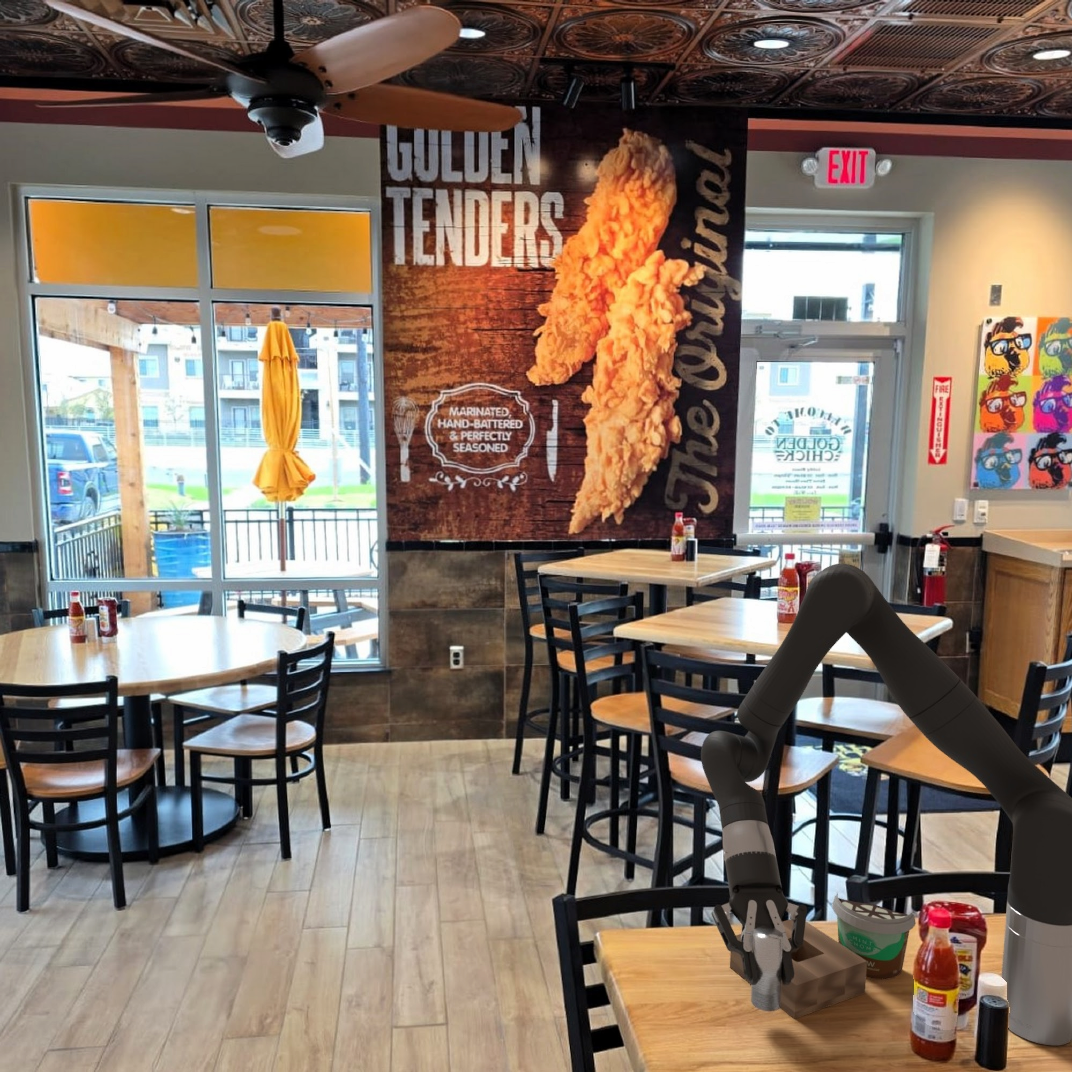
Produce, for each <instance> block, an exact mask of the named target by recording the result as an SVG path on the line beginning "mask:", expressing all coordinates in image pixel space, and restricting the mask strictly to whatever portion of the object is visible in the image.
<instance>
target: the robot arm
mask: <svg viewBox="0 0 1072 1072" xmlns="http://www.w3.org/2000/svg"><path fill="white" fill-rule="evenodd" d="M845 634H847V635H849V637H850V638H852V639H853V641H854V642H855V643H856V644H857V645H859V646H860V648H861V649H862V650H863V651H864V653H866V655H867V656H868V657H869V659H870V661H871V662H872V663H873V665H874V667H875V668H876V670H877V671H878V674H879V675H880V677H881V679H882V681H883V682H884V684H885V686H886V688H887V690H888V691H889V693H890V694H891V696H892V697H893V699H894V701H895V702H896V703H897V705H898V707H899V708H900V709H901V710H902V712H903V713H904V715H906V717H907V718H908V719H909V720H910V721H911V722H912V723H913V724H914V726H915V727H916V728H917V729H918V730H919V731H920V732H921V734H923V736H924V737H925V738H926V739H927V740H928V741H929V742H930V743H931V744H932V745H933V747H935V748H937V749H938V750H939V751H940V752H941V753H942V754H944V755H945V756H947V758H949V759H950V760H952V761H953V762H955V763H957V764H958V765H959V766H960V767H962V768H963V769H964V770H966V771H967V772H969V773H970V774H972V776H973V777H975V778H976V779H977V780H978V781H979V782H980V783H981V784H982V785H983V787H985V788H986V789H987V791H988V792H989V793H990V794H991V796H992V797H993V798H994V800H995V801H996V802H997V803H998V804H999V806H1000V807H1001V809H1002V810H1003V811H1004V813H1005V814H1006V815H1007V817H1008V818H1009V820H1010V821H1011V824H1012V844H1011V856H1010V857H1011V859H1010V868H1009V869H1010V870H1009V879H1008V885H1007V899H1006V910H1005V911H1006V913H1005V926H1004V928H1005V929H1004V936H1003V937H1004V940H1003V952H1002V953H1003V954H1002V964H1001V965H1002V968H1001V977H1002V978H1003V979H1004V980H1005V981H1006V982H1007V1000H1008V1002H1009V1007H1010V1013H1009V1029H1008V1030H1010V1031H1011V1032H1012V1033H1013V1034H1015V1035H1017V1036H1019V1037H1021V1038H1023V1039H1025V1040H1028V1041H1030V1042H1033V1043H1037V1044H1041V1045H1046V1046H1063V1045H1066V1044H1069V1043H1070V1042H1071V1041H1072V797H1071V796H1070V795H1069V794H1068V793H1067V792H1066V791H1065V790H1064V789H1062V788H1061V787H1060V785H1058V784H1057V783H1056V782H1054V781H1053V780H1052V779H1051V778H1050V777H1049V776H1048V775H1047V774H1046V773H1044V772H1043V771H1042V770H1041V769H1040V768H1039V767H1038V766H1037V765H1036V764H1035V763H1034V762H1033V761H1031V760H1030V759H1029V757H1027V756H1026V754H1024V753H1023V752H1022V751H1021V750H1020V748H1019V746H1018V745H1017V744H1015V742H1014V741H1013V739H1012V738H1011V736H1009V734H1008V733H1007V732H1006V730H1005V728H1003V726H1002V725H1001V724H1000V722H999V721H998V720H997V719H996V718H995V717H994V716H993V714H992V713H991V712H990V711H989V710H988V708H987V707H986V706H985V705H984V704H983V702H982V701H981V700H980V699H979V698H978V697H977V696H976V694H975V693H974V692H973V691H972V690H971V689H970V688H969V687H968V685H967V684H966V683H965V682H964V681H963V680H962V679H961V678H960V677H959V676H958V675H957V674H956V672H954V671H953V669H951V668H950V666H948V665H947V664H946V663H945V661H943V659H941V658H940V657H939V656H938V655H937V654H936V653H935V652H934V651H933V650H932V649H931V648H930V647H929V646H928V645H927V644H926V643H925V642H924V641H923V640H922V639H920V638H919V637H918V636H917V635H916V634H915V633H914V632H913V631H912V630H911V629H910V628H909V627H908V626H907V624H906V623H905V622H904V621H903V620H902V618H901V617H900V616H899V615H898V613H896V611H895V610H894V609H893V607H892V606H891V605H890V603H889V602H888V601H887V599H886V598H885V596H884V595H883V594H882V593H881V591H880V590H879V588H878V586H877V585H876V584H875V583H874V581H873V580H872V579H871V578H870V576H869V575H868V574H867V573H866V572H865V571H864V570H863V569H861V568H859V567H858V566H855V565H852V564H848V563H836V564H835V563H834V564H831V565H829V566H827V567H825V568H824V569H822V570H820V571H819V572H817V573H816V574H815V575H814V576H813V577H812V578H811V579H810V581H809V583H808V585H807V588H806V591H805V593H804V596H803V599H802V601H801V603H800V606H799V609H798V611H797V614H796V616H795V617H794V620H793V623H792V624H791V626H790V628H789V630H788V632H787V634H786V636H785V637H784V639H783V641H782V642H781V644H780V646H779V647H778V649H777V651H775V653H774V655H773V656H772V657H771V659H770V660H769V662H768V663H767V664H766V666H765V667H764V669H763V670H762V672H760V675H759V676H757V679H756V680H755V681H754V683H753V684H752V686H751V688H750V690H749V691H748V693H747V694H746V696H745V697H744V698H743V700H742V702H741V703H740V704H739V707H738V708H737V711H736V712H737V713H736V717H737V720H738V722H739V723H740V725H742V726H743V728H745V729H746V730H747V731H748V732H747V733H746V734H745V736H742V735H739V734H736V733H733V732H729V731H724V730H715V731H712V732H710V733H709V734H707V736H706V737H705V738H704V740H703V741H702V745H701V749H700V750H701V751H700V760H701V761H700V762H701V765H702V770H703V771H704V775H705V777H706V780H707V783H708V785H709V787H710V789H711V792H712V794H713V797H714V798H715V801H716V803H717V805H718V811H719V818H720V824H721V831H722V848H723V850H722V851H723V860H724V863H725V870H726V877H727V884H728V885H727V886H728V890H729V898H728V902H726V903H724V904H716V905H715V906H714V907H713V909H712V911H711V917H712V919H713V921H714V923H715V926H716V927H717V930H718V931H719V934H720V936H721V938H722V941H723V942H724V945H725V947H726V949H727V951H728V952H730V953H731V952H732V951H734V952H737V953H739V954H740V955H741V957H742V963H743V970H744V977H745V979H746V980H749V981H750V983H749V985H750V986H752V985H756V984H757V983H758V976H757V969H756V963H755V956H754V953H752V943H753V931H754V929H756V928H758V927H771V928H775V929H777V930H779V931H780V932H781V933H782V935H783V950H782V983H783V985H789V984H790V983H791V980H792V979H793V978H794V968H793V963H792V957H791V953H792V952H794V951H798V950H799V948H800V947H801V946H802V945H803V939H804V931H805V923H806V922H807V913H808V908H807V906H806V904H800V905H796V904H794V903H791V902H788V900H787V898H786V896H785V895H784V893H783V889H782V888H783V887H782V883H781V878H780V877H781V876H780V871H779V865H778V860H777V856H776V850H775V844H774V839H773V836H772V834H771V833H772V832H771V830H770V827H769V821H768V815H767V810H766V803H765V800H764V797H763V795H762V793H761V792H760V791H759V790H758V789H756V788H755V787H752V786H751V785H749V784H748V783H750V782H751V783H752V782H754V781H756V780H758V778H760V777H761V776H762V775H763V774H764V772H766V770H767V768H768V765H769V761H770V759H771V757H772V755H771V754H772V752H773V749H774V746H775V743H776V741H777V737H778V733H779V732H780V730H781V728H782V727H783V725H784V724H785V722H786V721H787V719H788V718H789V716H790V714H791V713H792V712H793V710H794V709H795V707H796V706H797V704H798V702H799V701H800V699H801V697H802V696H803V694H804V692H805V691H806V688H807V687H808V684H809V683H810V680H811V679H812V677H813V675H814V673H815V672H816V670H817V669H818V667H819V665H820V664H821V662H822V661H823V660H824V659H825V657H826V656H827V654H828V653H829V651H830V650H831V649H832V648H833V647H834V646H835V645H836V644H837V642H839V640H841V638H842V637H843V636H844V635H845ZM730 912H731V913H732V915H734V917H735V918H736V919H737V920H738V921H739V923H740V924H741V930H740V934H741V941H739V940H737V938H736V935H737V934H735V931H734V929H733V927H732V925H731V923H730V921H729V920H730V918H731V914H730ZM786 912H787V913H788V914H789V915H788V916H789V920H790V919H791V920H792V921H793V928H792V935H791V941H788V938H787V936H786V933H785V928H784V926H783V924H782V922H783V920H782V919H783V917H784V915H785V913H786ZM745 979H744V980H745ZM746 980H745V981H746ZM1070 1040H1071V1041H1070Z"/></svg>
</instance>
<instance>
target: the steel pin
mask: <svg viewBox="0 0 1072 1072" xmlns="http://www.w3.org/2000/svg"><path fill="white" fill-rule="evenodd" d="M782 950H783V935H782V933H781V932H780V931H779V930H777V929H775V928H771V927H758V928H756V929H754V931H753V953H754V956H755V963H756V969H757V976H758V983H757V984H756V985H751V987H750V988H751V992H750V993H751V995H750V997H751V998H750V1001H751V1004H752V1005H753V1007H754V1008H756V1009H757V1010H761V1011H764V1012H775V1011H777V1010H780V1009H781V1008H780V1006H781V979H782Z"/></svg>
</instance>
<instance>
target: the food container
mask: <svg viewBox="0 0 1072 1072" xmlns="http://www.w3.org/2000/svg"><path fill="white" fill-rule="evenodd" d="M838 896H839V895H838V892H836V895H834V898H833V901H832V909H833V912H834V914H835V915H836V920H837V939H838V941H837V942H838V943H840V944H841V945H843V946H845V947H846V948H848V949H849V950H851V951H852V952H854V953H855V954H857V955H858V956H860V957H861V958H863V959H864V960H866V961H867V970H866V978H868V979H874V980H889V979H893V978H896V977H898V976H899V975H900V974H901V973H902V970H903V967H904V962H905V956H906V951H907V946H908V939H909V935H910V931H911V930H912V929H914V928H915V926H916V918H915V917H916V916H915V914H914V913H913V909H912V910H911V912H909V914H907V913H902V912H897V911H895V910H894V911H893V910H891V909H888V908H886V907H883V906H880V905H879V904H878V905H877V904H874V903H866V902H865V903H864V902H858V901H852V900H848V899H844V898H840V897H838Z"/></svg>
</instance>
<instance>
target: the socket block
mask: <svg viewBox="0 0 1072 1072" xmlns="http://www.w3.org/2000/svg"><path fill="white" fill-rule="evenodd" d="M782 924H783V926H784V928H785V933H786V936H787V938H788V941H791V935H792V928H793V921H792V920H791V919H790V918H789V919H787V920H784V921H783V920H782ZM735 935H736V938H737V940H739V941H741V933H739V934H735ZM752 953H753V943H752ZM729 955H730V957H729V968H730V969H731V970H732V971H734V972H735V973H737V975H739V976H740V977H741V978H743V979H744V980H745V981H746V982H748V983H749V984H750V981H749V980H746V979H745V977H744V970H743V963H742V957H741V955H740V954H739V953H737V952H734V951H732V952H731V951H730V953H729ZM791 957H792V963H793V968H794V978H793V979H792V980H791V983H790V984H789V985H783V983H782V979H781V1006H780V1008H779V1009H781V1010H782V1011H784V1012H785V1013H787V1014H788V1015H789V1016H791V1018H793V1019H794V1020H795V1019H798V1018H801V1017H803V1016H806V1015H809V1014H811V1013H815V1012H817V1011H819V1010H823V1009H825V1008H827V1007H831V1006H833V1005H836V1004H840V1003H841V1002H844V1001H847V1000H850V999H852V998H856V997H858V996H861V995H864V994H866V985H867V977H866V970H867V961H866V960H864V959H863V958H861V957H860V956H858V955H857V954H855V953H854V952H852V951H851V950H849V949H848V948H846V947H845V946H843V945H841V944H840V943H839V941H837V940H835V939H833V938H832V937H830V936H829V935H827V934H826V933H825V932H823V931H822V930H820V929H818V928H817V927H816V926H814V925H812V924H811V923H809V922H808V921H806V923H805V931H804V939H803V945H802V946H801V947H800V948H799V950H798V951H794V952H792V953H791Z"/></svg>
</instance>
